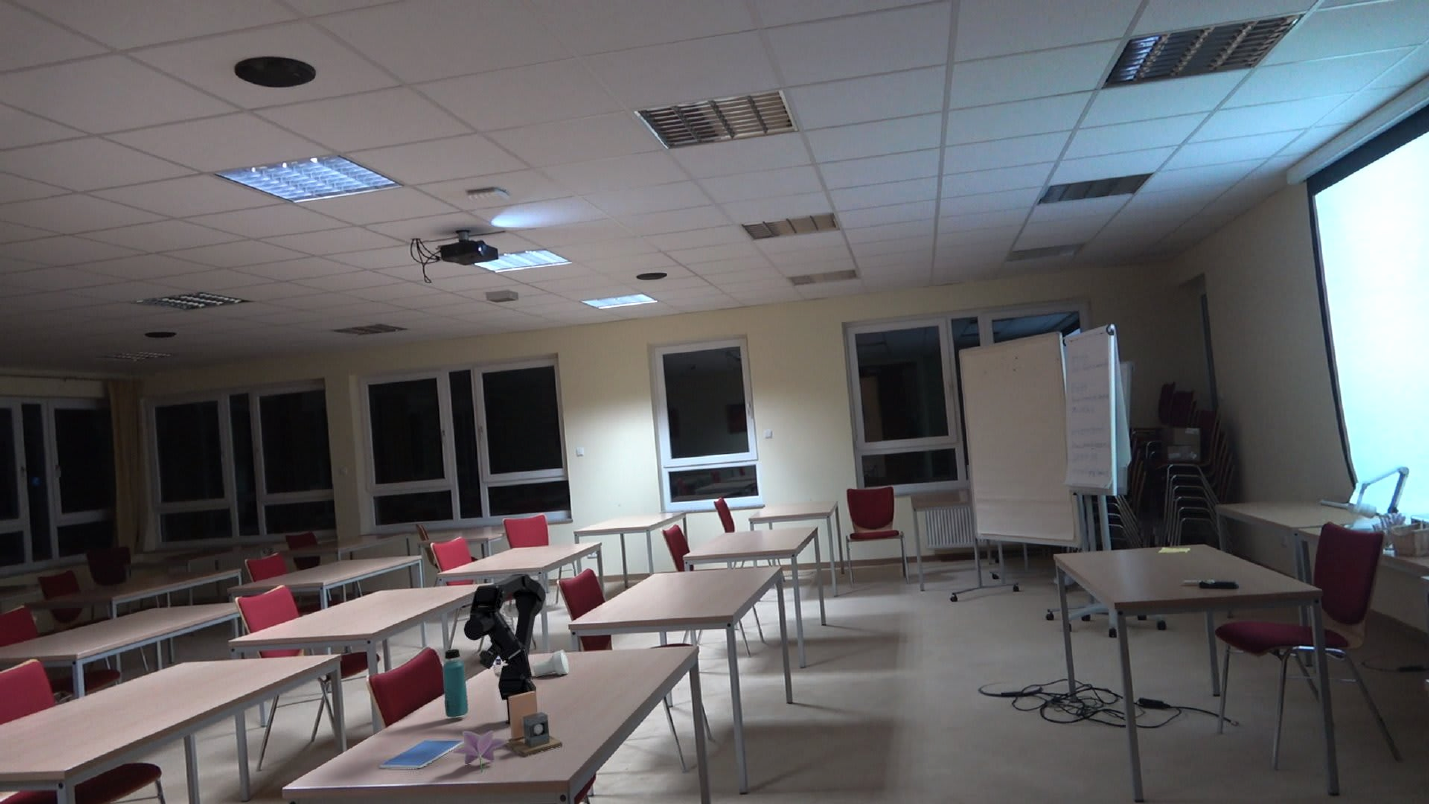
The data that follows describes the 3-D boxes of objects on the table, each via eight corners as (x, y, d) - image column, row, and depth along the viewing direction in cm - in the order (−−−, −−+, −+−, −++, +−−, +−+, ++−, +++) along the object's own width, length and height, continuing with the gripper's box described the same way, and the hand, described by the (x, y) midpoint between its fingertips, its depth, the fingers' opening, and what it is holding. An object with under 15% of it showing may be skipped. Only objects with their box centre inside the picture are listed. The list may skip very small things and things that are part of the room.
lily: (517, 766, 212) (510, 726, 217) (492, 763, 202) (486, 722, 206) (474, 783, 213) (468, 744, 218) (447, 781, 203) (441, 740, 208)
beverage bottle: (473, 716, 256) (468, 647, 257) (458, 723, 250) (453, 652, 251) (456, 715, 259) (451, 647, 260) (440, 722, 253) (435, 652, 254)
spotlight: (566, 673, 293) (560, 649, 295) (534, 683, 293) (528, 659, 296) (572, 672, 301) (566, 648, 303) (540, 681, 301) (535, 658, 303)
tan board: (504, 744, 227) (504, 740, 227) (540, 734, 232) (540, 730, 232) (524, 756, 215) (524, 752, 215) (562, 746, 221) (562, 742, 221)
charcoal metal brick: (525, 744, 221) (522, 716, 222) (543, 739, 224) (541, 711, 225) (531, 748, 218) (528, 719, 219) (549, 743, 221) (547, 714, 221)
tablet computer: (424, 744, 235) (424, 739, 235) (465, 744, 231) (465, 739, 231) (377, 770, 216) (377, 765, 216) (421, 771, 213) (421, 766, 213)
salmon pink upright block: (511, 738, 226) (508, 696, 227) (536, 731, 230) (533, 690, 231) (526, 746, 218) (523, 704, 219) (552, 739, 222) (549, 697, 223)
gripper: (475, 648, 243) (506, 696, 241) (468, 646, 226) (501, 697, 223) (509, 624, 247) (540, 670, 244) (505, 620, 229) (538, 670, 227)
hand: (529, 677), depth 235 cm, fingers open, 9 cm apart
